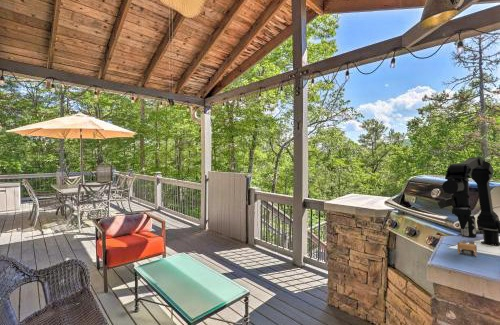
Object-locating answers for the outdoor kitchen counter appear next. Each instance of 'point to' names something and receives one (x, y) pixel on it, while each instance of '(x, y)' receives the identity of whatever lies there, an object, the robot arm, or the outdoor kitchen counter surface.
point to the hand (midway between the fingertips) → (462, 228)
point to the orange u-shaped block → (467, 247)
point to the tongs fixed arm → (468, 252)
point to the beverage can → (469, 228)
